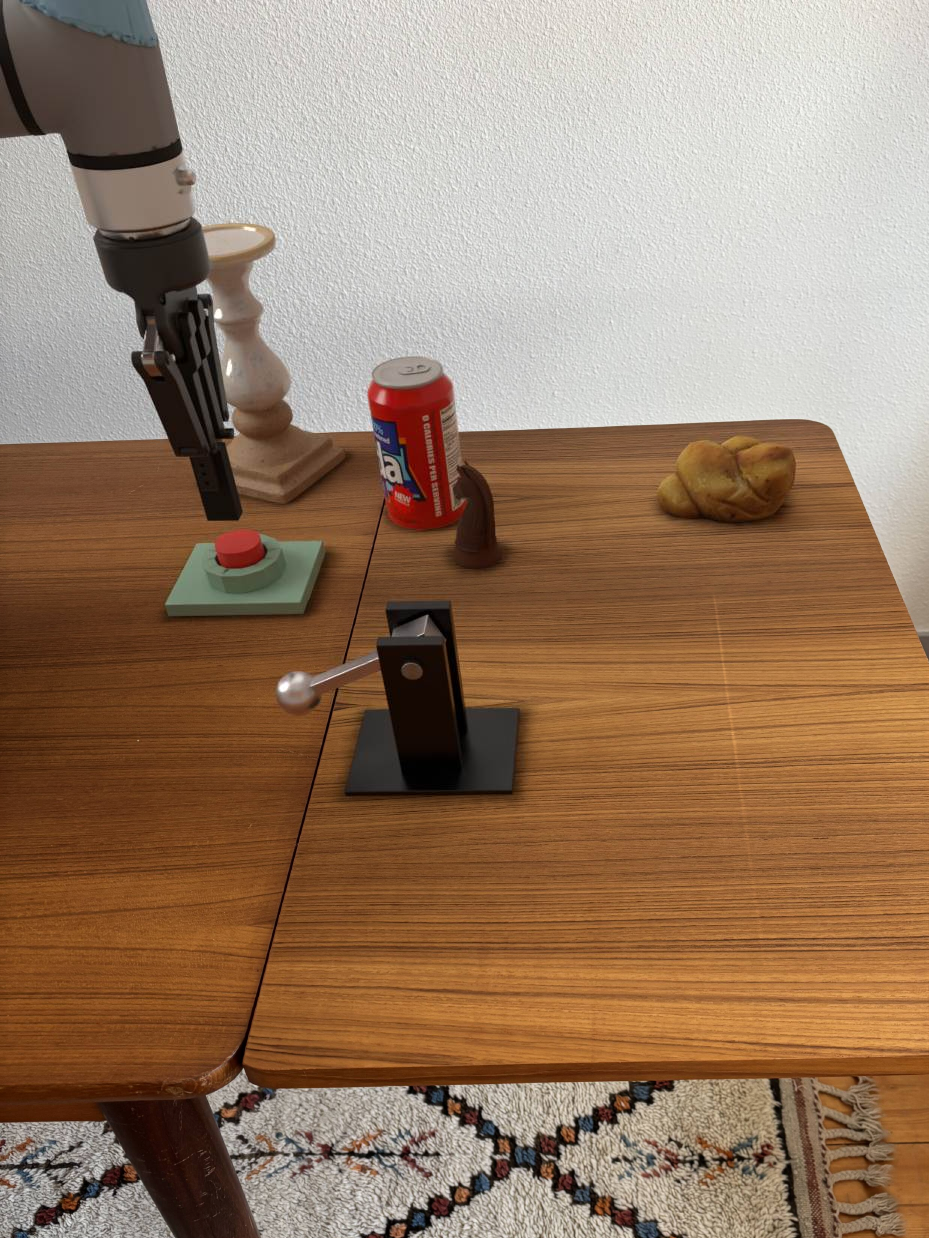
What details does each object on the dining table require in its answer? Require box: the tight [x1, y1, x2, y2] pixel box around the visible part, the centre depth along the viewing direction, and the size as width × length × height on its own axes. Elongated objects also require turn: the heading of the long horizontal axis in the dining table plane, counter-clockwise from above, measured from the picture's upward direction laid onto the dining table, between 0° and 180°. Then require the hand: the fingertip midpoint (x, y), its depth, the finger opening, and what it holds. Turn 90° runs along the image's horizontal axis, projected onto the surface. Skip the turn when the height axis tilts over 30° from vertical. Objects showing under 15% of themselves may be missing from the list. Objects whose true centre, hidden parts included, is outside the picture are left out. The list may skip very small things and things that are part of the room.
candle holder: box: [202, 222, 346, 505], centre depth 104 cm, size 11×11×24 cm
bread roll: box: [656, 434, 797, 523], centre depth 101 cm, size 13×10×8 cm
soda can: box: [366, 355, 468, 531], centre depth 100 cm, size 8×8×15 cm
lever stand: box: [344, 600, 521, 797], centre depth 74 cm, size 12×9×13 cm
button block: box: [164, 533, 326, 617], centre depth 95 cm, size 12×10×4 cm
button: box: [214, 528, 265, 569], centre depth 93 cm, size 4×4×2 cm
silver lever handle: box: [274, 615, 446, 717], centre depth 73 cm, size 13×3×3 cm, turn 88°
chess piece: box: [452, 460, 502, 570], centre depth 95 cm, size 5×5×10 cm
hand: (225, 516), depth 91 cm, fingers closed
